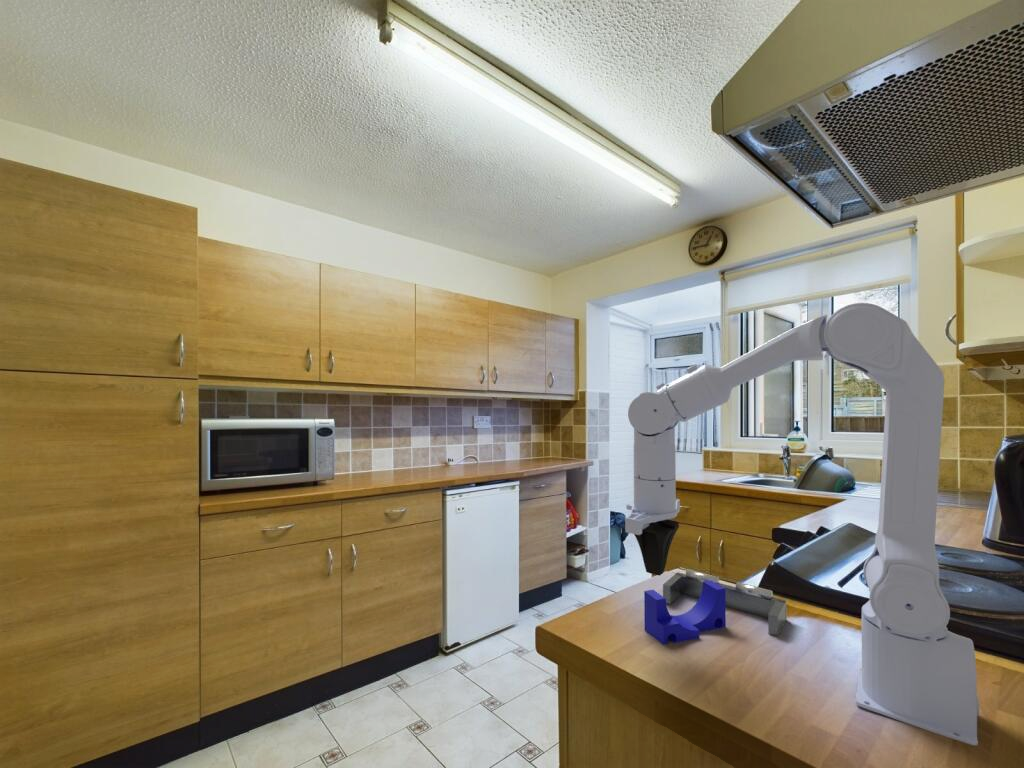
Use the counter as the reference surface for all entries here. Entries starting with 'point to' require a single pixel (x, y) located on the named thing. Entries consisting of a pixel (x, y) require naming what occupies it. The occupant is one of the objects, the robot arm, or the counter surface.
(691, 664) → the counter surface
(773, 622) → the hinge bracket
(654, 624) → the blue pipe saddle
